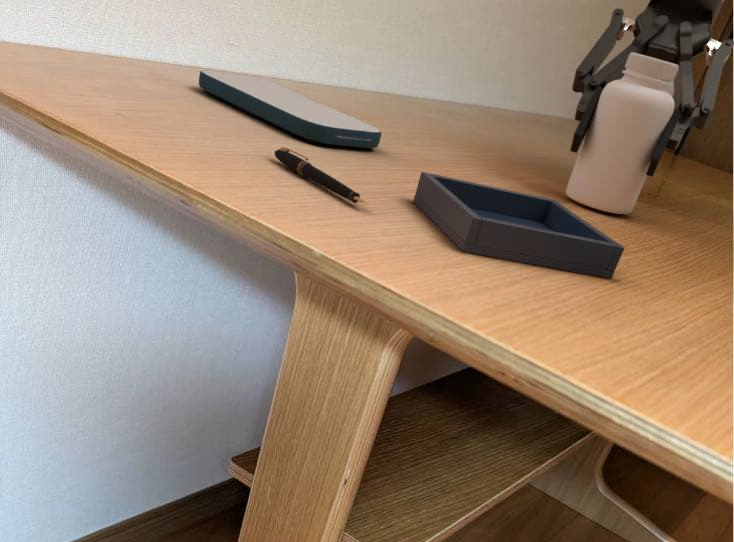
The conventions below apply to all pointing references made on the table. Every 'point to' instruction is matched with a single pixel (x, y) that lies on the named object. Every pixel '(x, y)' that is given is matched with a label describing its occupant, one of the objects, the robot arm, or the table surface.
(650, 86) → the pill bottle
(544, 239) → the tray
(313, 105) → the external hard drive
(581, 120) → the robot arm
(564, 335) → the table surface
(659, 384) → the table surface
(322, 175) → the fountain pen
